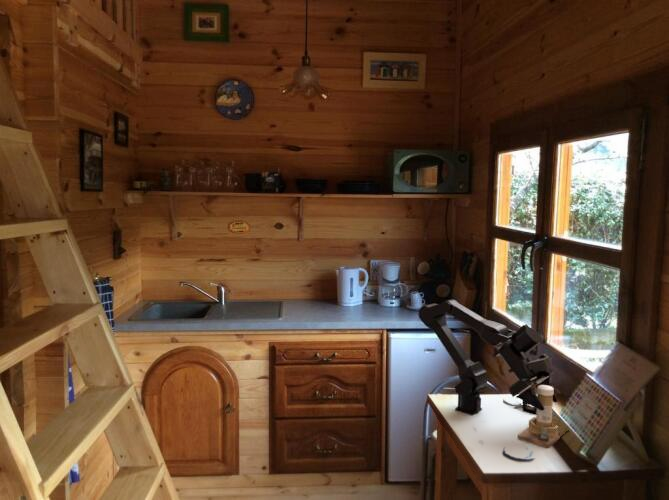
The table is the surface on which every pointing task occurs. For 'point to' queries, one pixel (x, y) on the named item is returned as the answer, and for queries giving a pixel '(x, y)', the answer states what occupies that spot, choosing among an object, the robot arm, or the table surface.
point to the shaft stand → (539, 434)
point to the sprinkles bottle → (545, 405)
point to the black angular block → (526, 408)
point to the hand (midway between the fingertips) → (550, 405)
